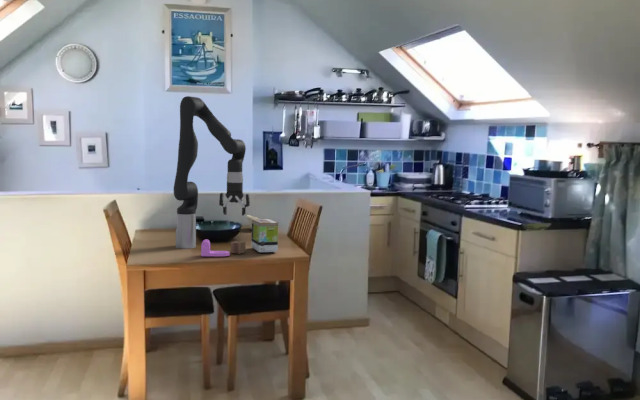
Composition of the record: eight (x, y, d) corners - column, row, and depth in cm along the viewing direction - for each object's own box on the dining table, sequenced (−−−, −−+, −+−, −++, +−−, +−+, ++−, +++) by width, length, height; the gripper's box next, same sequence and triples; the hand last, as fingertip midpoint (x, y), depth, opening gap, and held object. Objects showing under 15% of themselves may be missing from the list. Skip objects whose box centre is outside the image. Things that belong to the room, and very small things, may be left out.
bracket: (201, 256, 251) (201, 241, 250) (202, 253, 257) (202, 239, 256) (229, 256, 253) (229, 241, 252) (229, 253, 258) (229, 239, 258)
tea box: (278, 251, 265) (278, 222, 263) (258, 253, 261) (258, 222, 260) (269, 246, 279) (270, 218, 277) (250, 247, 275) (251, 218, 274)
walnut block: (236, 250, 265) (230, 252, 261) (237, 240, 265) (231, 242, 261) (245, 252, 263) (239, 253, 259) (245, 241, 263) (239, 243, 258)
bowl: (270, 233, 320) (270, 216, 319) (246, 233, 318) (246, 216, 317) (268, 229, 335) (269, 213, 334) (246, 229, 333) (246, 213, 332)
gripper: (218, 181, 254) (217, 215, 255) (248, 182, 253) (247, 216, 255) (221, 180, 261) (221, 213, 263) (251, 181, 261) (250, 214, 262)
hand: (234, 215), depth 259 cm, fingers open, 8 cm apart
